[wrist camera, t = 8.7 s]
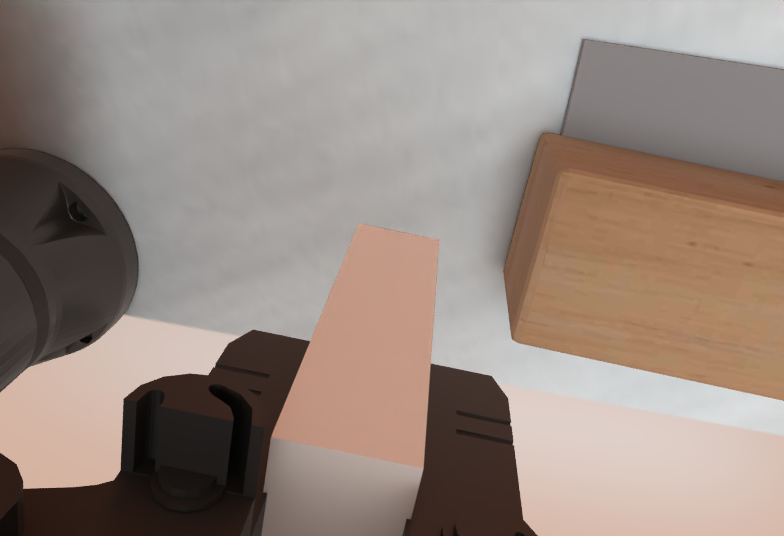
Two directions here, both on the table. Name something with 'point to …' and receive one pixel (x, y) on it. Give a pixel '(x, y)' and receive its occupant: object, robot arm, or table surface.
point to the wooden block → (650, 265)
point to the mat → (679, 107)
